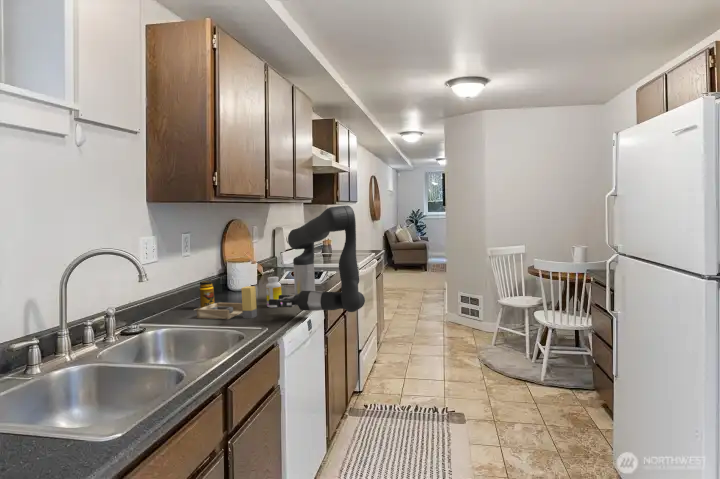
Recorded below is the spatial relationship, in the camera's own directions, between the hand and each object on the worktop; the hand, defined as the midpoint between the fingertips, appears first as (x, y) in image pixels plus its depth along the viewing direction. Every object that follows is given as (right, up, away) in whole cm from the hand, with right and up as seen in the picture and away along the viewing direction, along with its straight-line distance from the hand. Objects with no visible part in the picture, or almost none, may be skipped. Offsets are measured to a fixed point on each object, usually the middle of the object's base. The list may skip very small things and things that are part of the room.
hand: (274, 299), depth 190 cm
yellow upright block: (-10, -7, +4) cm, 13 cm away
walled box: (-23, -7, +9) cm, 26 cm away
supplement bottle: (-4, -6, +22) cm, 23 cm away
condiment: (-34, -7, +24) cm, 43 cm away
